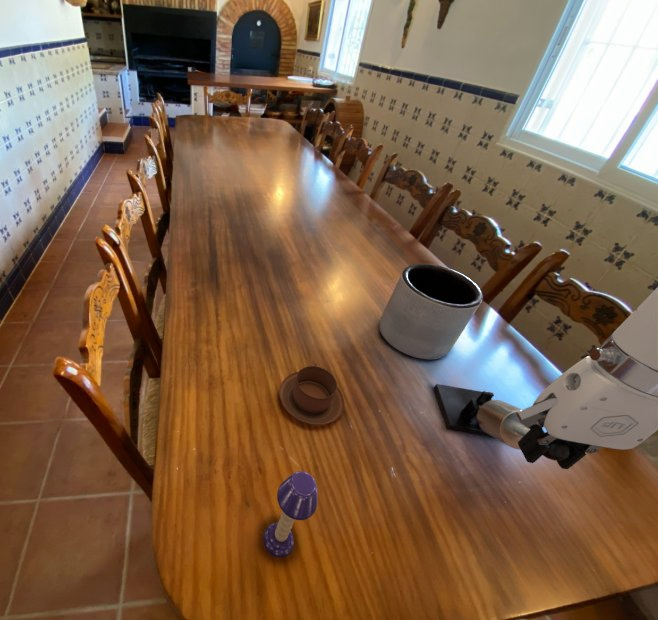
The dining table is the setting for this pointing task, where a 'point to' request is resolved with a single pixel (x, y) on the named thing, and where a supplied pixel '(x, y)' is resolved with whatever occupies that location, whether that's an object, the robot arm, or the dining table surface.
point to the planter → (429, 310)
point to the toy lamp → (291, 512)
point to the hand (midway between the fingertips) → (541, 455)
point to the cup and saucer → (312, 396)
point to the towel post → (514, 428)
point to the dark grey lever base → (461, 408)
